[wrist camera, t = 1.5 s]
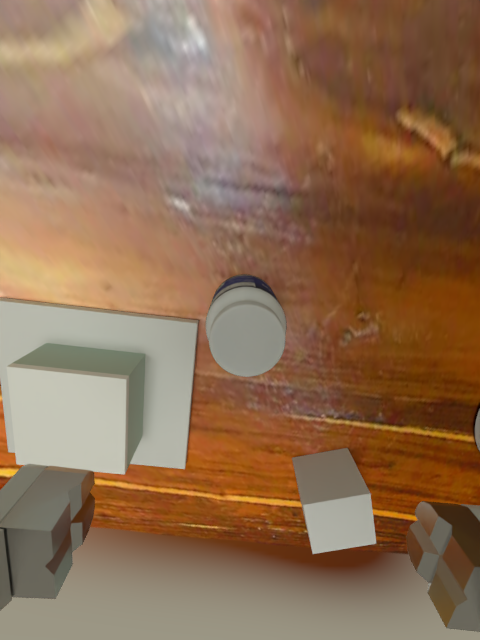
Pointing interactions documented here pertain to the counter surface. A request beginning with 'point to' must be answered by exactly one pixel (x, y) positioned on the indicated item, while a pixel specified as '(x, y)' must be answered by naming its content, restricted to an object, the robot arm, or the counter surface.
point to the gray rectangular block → (334, 501)
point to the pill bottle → (246, 326)
